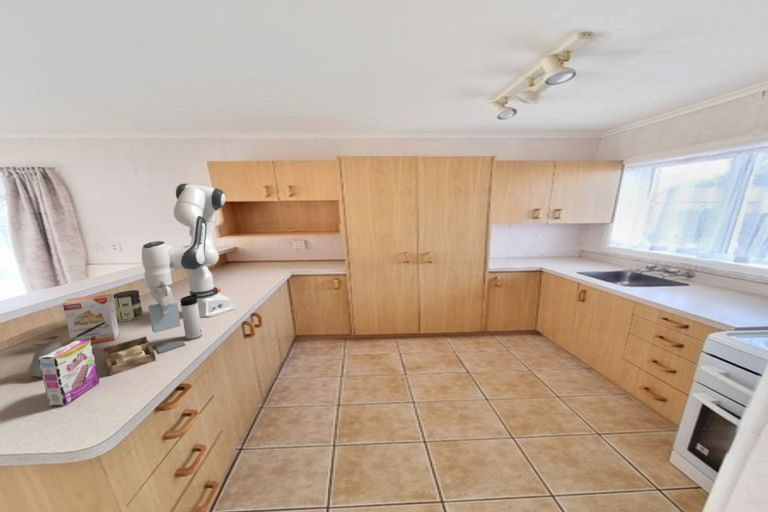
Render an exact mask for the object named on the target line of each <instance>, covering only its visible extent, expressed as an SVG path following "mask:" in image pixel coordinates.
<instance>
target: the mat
mask: <svg viewBox="0 0 768 512" xmlns="http://www.w3.org/2000/svg"><path fill="white" fill-rule="evenodd" d="M153 345H154V347H155V349H156V351H157V352H158V354H160V355H161V354H164V353H167V352H169V351H172V350H176V349H179V348H181V347H185V346H186V343H185V342H184V341H183V340H182V338H181V337H179V336H178V337H174V338H172V339H171V338H170V339H168V340H164V341H162V342H161V341H160V342H158V343H155V344H153Z"/></svg>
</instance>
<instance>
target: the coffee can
mask: <svg viewBox="0 0 768 512" xmlns="http://www.w3.org/2000/svg"><path fill="white" fill-rule="evenodd" d="M112 298H113V303H114V307H115V312H116V317H117V322H118V321H119V322H127V321H128V322H129V321H133V320H136V319H139V318H142V317H143V315H144V313H143V307H142V302H141V296H140V290H136V289H135V290H134V289H133V290H132V289H131V290H124V291H121V292H120V291H119V292H116V293H114V294H112Z"/></svg>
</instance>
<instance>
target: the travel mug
mask: <svg viewBox="0 0 768 512" xmlns="http://www.w3.org/2000/svg"><path fill="white" fill-rule="evenodd" d="M179 301H180V309H181V315H182V321H183V327H184V329H183V330H184V335H185V340H187V341H194V339H195V340H198V339H200V338H201V337H202V336H203V334H202V333H203V330H202V323H201V317H200V316H199V309H198V302H197V295H196V294H194V295H190V294H189V295H187V296H184V297H183V296H182V298H181V299H180V300H179ZM197 338H198V339H197Z"/></svg>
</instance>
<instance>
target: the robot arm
mask: <svg viewBox="0 0 768 512" xmlns="http://www.w3.org/2000/svg"><path fill="white" fill-rule="evenodd" d="M175 196H176V199H177V200H176V203H175V205H174V208H173V217H174V218H175V220H176V221H177V222H178V223H180V224H181V225H183V226H185V227H188V228H189V231H188V232H189V236H191V240H190V241H191V242H190V244H189V245H185V246H173V245H169V244H167V243H166V242H165V241H161V240H160V241H159V240H157V241H151V242H147V243H145V244H143V245H142V247H141V262H142V266H143V268H144V274H143V275H144V280H145V286H146V287H147V288H149V290H150V293H151V297H152V298H153V300H155V301H156V302H157V304H160V305H161V306H162V311H163V314H167V313H169V311H168V308H169V306H172V305H173V301H174V299H173V294H172V289H171V285H172V284H173V283H174V279H173V278H174V277H173V271H172V269H181V270H184V269H185V272H186V274H187V278H188V283H189V288H190V290H189V295H194V294H196V295H197V302H198V309H199V316H200V318H212V317H214V316H218V315H220V314H224V313H226V312H230V311H232V310H235V309H236V308H237V306H236V304H235V303H234V302H231V299H230V298H229V297H228V296H227V295H225V294H223V293H220V292H221V291H222V289H221V288H220V287H216V286H214V284H215V283H214V277H213V273H212V272H211V271H210V270H209V268H208V267H212V266H214V265H216V264H218V261H219V258H220V254H219V252H218V251H217V250H216V247H215V241H214V233H215V224H216V216H217V215H216V214H217V212H216V211H218V210H219V209H220V210H221V208H223V207H224V205H225V203H226V195H225V192H224V190H222V189H220V188H217V187H211V186H207V185H200V184H192V183H191V184H190V183H180V184H179V185H178V186H176V189H175Z"/></svg>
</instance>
